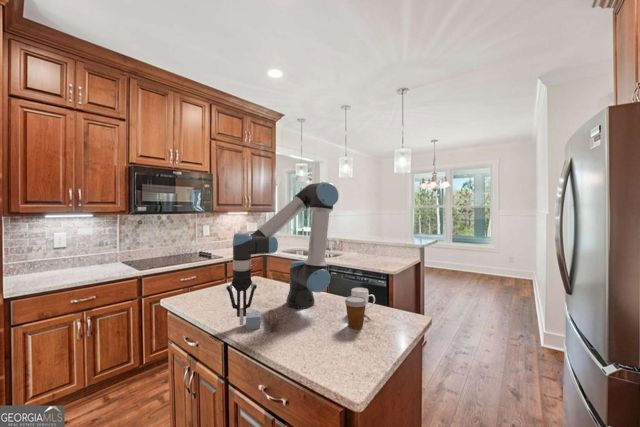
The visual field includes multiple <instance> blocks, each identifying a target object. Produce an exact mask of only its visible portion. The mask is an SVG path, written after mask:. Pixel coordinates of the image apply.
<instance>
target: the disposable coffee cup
mask: <svg viewBox="0 0 640 427" xmlns="http://www.w3.org/2000/svg"><path fill="white" fill-rule="evenodd" d="M344 302H345V308H346V316H347V325H348V328H349V329H353V330H359V329H363V327H364V321H365V320H364V319H365V313H366V310H365V306H366V304H367V302H366V299H365V298H363V297H360V296H351V295H350V296H346V298H345V300H344ZM367 305H368V304H367Z"/></svg>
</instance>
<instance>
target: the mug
mask: <svg viewBox="0 0 640 427" xmlns="http://www.w3.org/2000/svg"><path fill="white" fill-rule="evenodd" d="M350 294H351V295H350V296H360V297H363V298H365V299H366V302H367V304H366V306H365V311H366V310H368V309H369V308H371V307H372V306H374V305H375V302H376V297H375V295H374V294H369V289H368V288H366V287H353V288H351V293H350ZM369 297H372V298H373V302H372V304H370V305H369V306H368V302H369ZM367 306H368V307H367Z"/></svg>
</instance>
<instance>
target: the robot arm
mask: <svg viewBox="0 0 640 427" xmlns="http://www.w3.org/2000/svg"><path fill="white" fill-rule="evenodd" d="M339 196H340V194H339V191H338V189H337V187H336V186H335V185H334V184H333V183H332V182H324V181H322V182H317V183H311V184H308V185H306V186H305V187H303V188H302V189H301V190H300V191H299V192H298V193H296V194H295V195H294V196H293V197H292V200H291V201H290V202H288V203H287V204H286V205H285V206H283V208H281V209H280V210H279V211H278V212H277V213H275V214H274V215H273V216H272V217H271V218H270V219H268V220H267V221H266V222H265V223H263V224H262V225H261V226H260V227H259V228H258V229H256V230H255V231H254V232H253V233H249V232H239V233H234V235H233V236H232V269H233V270H232V280H231V283H230V284H228V285H226V287H225V289H226V291H227V292H228V296H229V299H230V303H231V306H232V309H234V310H235V309H236V316H237V318H239V326H243V325H244V317H246V313H247V309H248V308H251V306H252V302H253V297H254V294H255V290H256V289H257V288H258V285H257V284H256V283H253V280H252V270H251V269H252V256H253V255H264V254H265V255H266V254H267V255H268V254H269V255H270V254H273V253H276V252H277V251H278V248H279V246H278V245H279V243H278V239H277V237H276V236H275V235H276V234H277V233H278V232H279V231H281V230H282V229H283V228H284V227H285V226H286V225H288V224H289V223H290V222H291V221H292V220H294V219H295V218H296V217H297V216H298V215H299V214H300V213H301V212H306V211H307V209H310V211H311V213H312V214H311V223H310V231H309V232H310V233H309V234H310V235H309V241H308V242H309V243H308V250H307V251H308V253H307V259H306V260H296V261H292V262H291V263H290V264H289V291H288V294H287V297H286V303H285V304H286V306H287V307H289V308H293V309H308V308H311V307H313V306H314V305H315V304H316V303H315V297H314V293H321V292H324V291H325V290H326V289H327V288H328V287H329V285H330V283H331V274H330V273H329V271H328V264H327V262H326V252H327V251H326V249H327V241H328V240H327V239H328V230H329V222H330V213H332V211H333V210H334V205H336V203H337V202H338V201H339ZM233 288H234V289H235V291H236V300H235V296H234V293H233ZM249 288H251V289H250V295H249V298H248V303H247V290H248V289H249ZM241 292H242V301H243V302H242V307H241Z"/></svg>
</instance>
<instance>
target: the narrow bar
mask: <svg viewBox="0 0 640 427" xmlns="http://www.w3.org/2000/svg"><path fill="white" fill-rule="evenodd" d="M268 321H269V328H270V333H278V332H279V320H278V315H277V311H276V309H272V310H268Z"/></svg>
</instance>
